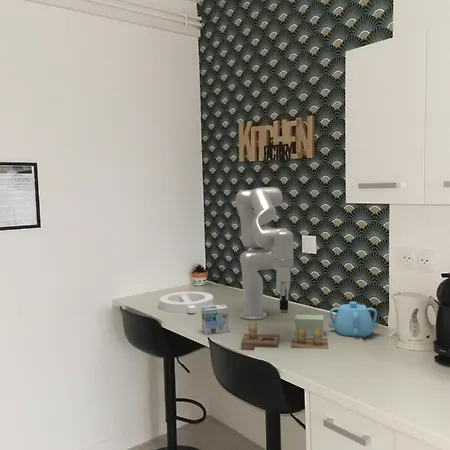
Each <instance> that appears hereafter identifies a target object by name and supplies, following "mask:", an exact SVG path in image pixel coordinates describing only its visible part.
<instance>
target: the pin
mask: <svg viewBox="0 0 450 450" xmlns="http://www.w3.org/2000/svg"><path fill="white" fill-rule="evenodd" d="M287 300H288V301H289V292H288V293H287ZM279 313H281V314H288V313H289V309H288V310H280V309H279Z"/></svg>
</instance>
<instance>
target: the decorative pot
mask: <svg viewBox="0 0 450 450" xmlns="http://www.w3.org/2000/svg"><path fill="white" fill-rule="evenodd" d="M334 311H336V314H335V316H334V317H333V312H334ZM369 311H373V312H374V316H373V317H372V316H371V313H370V312H369ZM329 317H330V320H331V321H329V322H328V326H329V328H331V329H335V331H336V332H337V334H339V335H341V336H345V337H361V338H363V339H366V337H368V336H370V335H372V332H373V330H375V329H378V328H379V323H378V322H377V321H376V320H377V318H378V311H377V310H376V308H373V307H366V306H365V305H363V304H359V303H358V302H357V301H349V302H348V304H347V303H346V304H345V303H344V304H341V305H340V306H339V307H333V308H331V309H330V310H329ZM372 318H373V319H372ZM331 324H332V325H331Z"/></svg>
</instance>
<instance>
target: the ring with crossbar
mask: <svg viewBox="0 0 450 450" xmlns="http://www.w3.org/2000/svg"><path fill="white" fill-rule="evenodd" d="M212 305H214V295H213V294H211V293H210V292H203V291H178V292H172V293H167V294H164V295H161V297H159V309H160V310H161V311H163V310H164V311H163V312H166V311H167V312H168V313H172V312H173V314H186V313H187V314H188V313H189V314H196V313H199V312H202V306H212Z"/></svg>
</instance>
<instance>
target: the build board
mask: <svg viewBox="0 0 450 450" xmlns="http://www.w3.org/2000/svg"><path fill="white" fill-rule="evenodd" d="M279 340H280V334H278V333H258V324H257V323H256V322H250V323H248V332H247V333H245V332H244V334H243V336H242V339H241V342H240V350H243V351H244V350H248V351H251V350H252V351H254V350H255V348H277V349H278V346H279Z"/></svg>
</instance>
